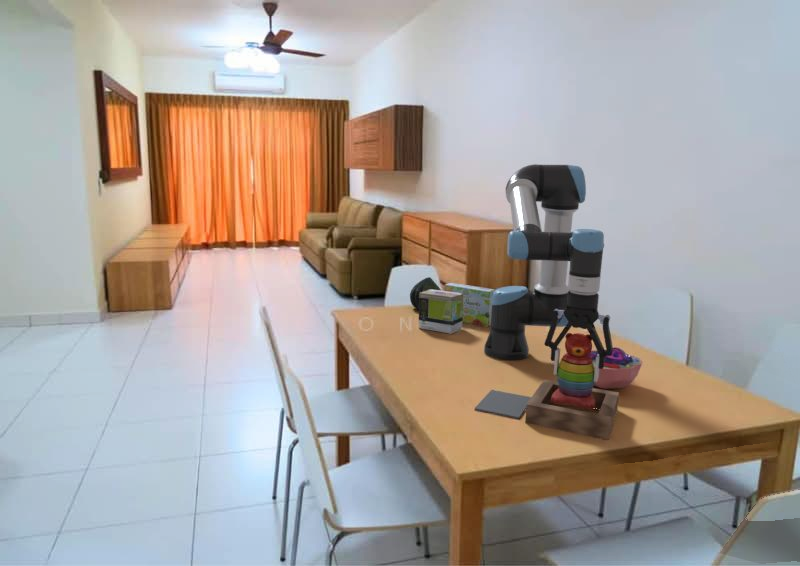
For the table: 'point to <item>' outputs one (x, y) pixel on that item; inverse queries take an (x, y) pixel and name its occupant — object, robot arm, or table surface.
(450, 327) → the tea box
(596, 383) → the cell model
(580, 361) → the stacking bear
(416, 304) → the squash
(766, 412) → the table surface
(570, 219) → the robot arm
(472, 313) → the snack box
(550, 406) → the square wooden frame
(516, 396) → the rubber mat
